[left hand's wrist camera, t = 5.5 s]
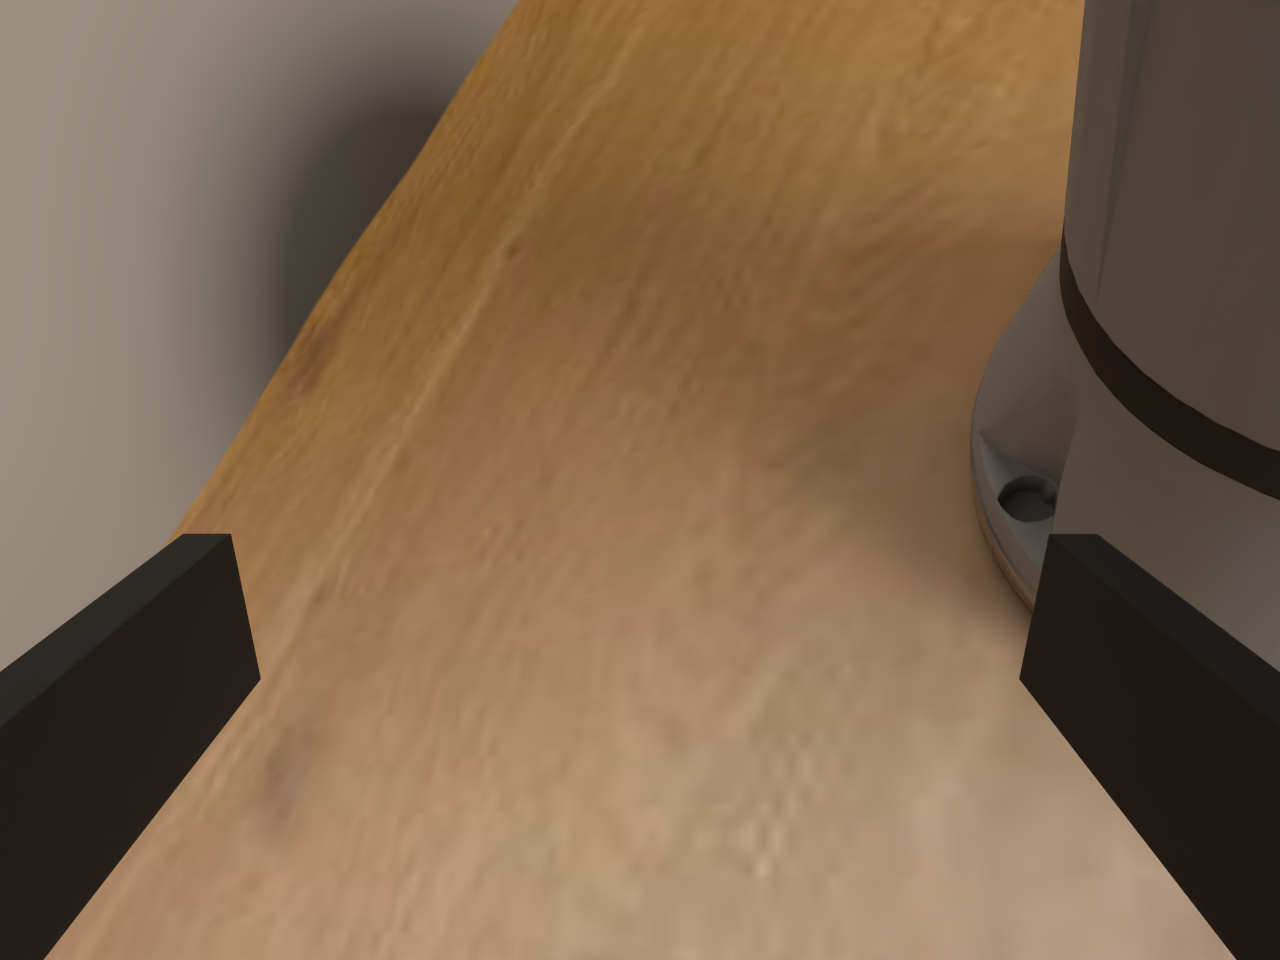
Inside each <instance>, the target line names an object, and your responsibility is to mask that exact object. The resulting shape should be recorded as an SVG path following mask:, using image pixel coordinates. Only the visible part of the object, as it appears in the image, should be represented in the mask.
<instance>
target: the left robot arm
mask: <svg viewBox="0 0 1280 960" xmlns="http://www.w3.org/2000/svg"><path fill="white" fill-rule="evenodd" d="M970 444H971V478H972V486H973V493H974V501H975V505H976V509H977V513H978V516H979V520H980V524H981V527H982V529H983V532H984V535H985V537H986V540H987V542H988V545H989V547H990V549H991V551H992V553H993V555H994V557H995V559H996V561H997V563H998V565H999V567H1000V569H1001V570H1002V572H1003V573H1004V575H1005V577H1006V578H1007V580H1008V581H1009V583H1010V584H1011V586H1012V588H1013V589H1014V591H1015V592H1016V593H1017V594H1018V596H1019V597H1020V598H1021V600H1022V601H1023V602H1024V603H1025V605H1026V606H1027V607H1028V608H1029V610H1030V611H1031V612H1032V613H1033V615H1032V619H1031V624H1030V629H1029V634H1028V639H1027V644H1026V648H1025V653H1024V658H1023V663H1022V668H1021V673H1020V678H1019V679H1020V681H1021V682H1022V683H1023V684H1024V686H1025V687H1026V688H1027V690H1028V691H1029V692H1030V693H1031V695H1032V696H1033V697H1034V699H1035V700H1036V701H1037V703H1038V704H1039V705H1040V706H1041V708H1042V709H1043V710H1044V712H1045V713H1046V714H1047V715H1048V717H1049V718H1050V719H1051V721H1052V722H1053V723H1054V724H1055V726H1056V727H1057V728H1058V730H1059V731H1060V732H1061V734H1062V735H1063V736H1064V737H1065V739H1066V740H1067V741H1068V743H1069V744H1070V745H1071V746H1072V748H1073V749H1074V750H1075V752H1076V753H1077V754H1078V756H1079V757H1080V758H1081V759H1082V761H1083V762H1084V763H1085V765H1086V766H1087V767H1088V768H1089V770H1090V771H1091V772H1092V774H1093V775H1094V776H1095V777H1096V779H1097V780H1098V781H1099V783H1100V784H1101V785H1102V787H1103V788H1104V789H1105V790H1106V792H1107V793H1108V794H1109V796H1110V797H1111V798H1112V799H1113V801H1114V802H1115V803H1116V805H1117V806H1118V807H1119V809H1120V810H1121V811H1122V812H1123V814H1124V815H1125V816H1126V818H1127V819H1128V820H1129V821H1130V823H1131V824H1132V825H1133V827H1134V828H1135V829H1136V830H1137V832H1138V833H1139V834H1140V836H1141V837H1142V838H1143V840H1144V841H1145V842H1146V843H1147V845H1148V846H1149V847H1150V849H1151V850H1152V851H1153V852H1154V854H1155V855H1156V856H1157V858H1158V859H1159V860H1160V861H1161V863H1162V864H1163V865H1164V867H1165V868H1166V869H1167V871H1168V872H1169V873H1170V874H1171V876H1172V877H1173V878H1174V880H1175V881H1176V882H1177V883H1178V885H1179V886H1180V887H1181V889H1182V890H1183V891H1184V893H1185V894H1186V895H1187V896H1188V898H1189V899H1190V900H1191V902H1192V903H1193V904H1194V905H1195V907H1196V908H1197V909H1198V911H1199V912H1200V913H1201V914H1202V916H1203V917H1204V918H1205V920H1206V921H1207V922H1208V924H1209V925H1210V926H1211V927H1212V929H1213V930H1214V931H1215V933H1216V934H1217V935H1218V936H1219V938H1220V939H1221V940H1222V942H1223V943H1224V944H1225V946H1226V947H1227V948H1228V949H1229V951H1230V952H1231V953H1232V955H1233V956H1234V957H1235V958H1236V960H1280V0H1085V7H1084V17H1083V27H1082V37H1081V47H1080V57H1079V67H1078V77H1077V88H1076V98H1075V108H1074V118H1073V128H1072V138H1071V148H1070V158H1069V168H1068V179H1067V189H1066V199H1065V216H1064V224H1063V233H1062V241H1061V245H1060V246H1059V248H1058V249H1057V251H1056V252H1055V254H1054V255H1053V257H1052V259H1051V260H1050V262H1049V263H1048V265H1047V266H1046V268H1045V269H1044V271H1043V272H1042V274H1041V275H1040V277H1039V278H1038V280H1037V281H1036V283H1035V285H1034V286H1033V288H1032V289H1031V291H1030V292H1029V294H1028V295H1027V297H1026V298H1025V300H1024V301H1023V303H1022V304H1021V306H1020V307H1019V309H1018V310H1017V312H1016V314H1015V315H1014V317H1013V318H1012V320H1011V321H1010V323H1009V324H1008V326H1007V327H1006V329H1005V331H1004V332H1003V334H1002V335H1001V337H1000V339H999V341H998V343H997V345H996V347H995V348H994V350H993V352H992V355H991V357H990V359H989V362H988V364H987V367H986V370H985V373H984V376H983V378H982V381H981V384H980V387H979V389H978V393H977V397H976V401H975V405H974V410H973V415H972V424H971V433H970ZM260 679H261V678H260V673H259V668H258V663H257V658H256V653H255V649H254V644H253V639H252V634H251V629H250V624H249V619H248V615H247V610H246V605H245V600H244V595H243V590H242V585H241V581H240V576H239V571H238V566H237V561H236V556H235V551H234V547H233V542H232V537H231V534H182V535H181V536H180V537H178V538H177V539H176V540H174V541H173V542H172V543H170V544H169V545H168V546H166V547H165V548H164V549H162V550H161V551H160V552H158V553H157V554H156V555H154V556H153V557H152V558H150V559H149V560H148V561H146V562H145V563H144V564H142V565H141V566H140V567H139V568H137V569H136V570H135V571H133V572H132V573H131V574H129V575H128V576H127V577H125V578H124V579H123V580H121V581H120V582H119V583H117V584H116V585H115V586H113V587H112V588H111V589H109V590H108V591H107V592H105V593H104V594H103V595H102V596H100V597H99V598H97V599H96V600H95V601H93V602H92V603H91V604H90V605H88V606H87V607H86V608H84V609H83V610H82V611H80V612H79V613H78V614H76V615H75V616H74V617H72V618H71V619H70V620H68V621H67V622H66V623H64V624H63V625H62V626H60V627H59V628H58V629H56V630H55V631H54V632H53V633H51V634H50V635H48V636H47V637H46V638H45V639H43V640H42V641H41V642H39V643H38V644H37V645H35V646H34V647H33V648H31V649H30V650H29V651H27V652H26V653H25V654H23V655H22V656H21V657H19V658H18V659H17V660H15V661H14V662H13V663H11V664H10V665H9V666H7V667H6V668H5V669H3V670H2V671H1V672H0V960H44V958H45V957H46V956H47V955H48V953H49V952H50V951H51V949H52V948H53V947H54V946H55V944H56V943H57V942H58V940H59V939H60V938H61V936H62V935H63V934H64V933H65V931H66V930H67V929H68V927H69V926H70V925H71V924H72V922H73V921H74V920H75V918H76V917H77V916H78V914H79V913H80V912H81V911H82V909H83V908H84V907H85V905H86V904H87V903H88V902H89V900H90V899H91V898H92V896H93V895H94V894H95V893H96V891H97V890H98V889H99V887H100V886H101V885H102V883H103V882H104V881H105V880H106V878H107V877H108V876H109V874H110V873H111V872H112V871H113V869H114V868H115V867H116V865H117V864H118V863H119V861H120V860H121V859H122V858H123V856H124V855H125V854H126V852H127V851H128V850H129V849H130V847H131V846H132V845H133V843H134V842H135V841H136V840H137V838H138V837H139V836H140V834H141V833H142V832H143V830H144V829H145V828H146V827H147V825H148V824H149V823H150V821H151V820H152V819H153V818H154V816H155V815H156V814H157V812H158V811H159V810H160V809H161V807H162V806H163V805H164V803H165V802H166V801H167V799H168V798H169V797H170V796H171V794H172V793H173V792H174V790H175V789H176V788H177V787H178V785H179V784H180V783H181V781H182V780H183V779H184V777H185V776H186V775H187V774H188V772H189V771H190V770H191V768H192V767H193V766H194V765H195V763H196V762H197V761H198V759H199V758H200V757H201V756H202V754H203V753H204V752H205V750H206V749H207V748H208V746H209V745H210V744H211V743H212V741H213V740H214V739H215V737H216V736H217V735H218V734H219V732H220V731H221V730H222V728H223V727H224V726H225V724H226V723H227V722H228V721H229V719H230V718H231V717H232V715H233V714H234V713H235V712H236V710H237V709H238V708H239V706H240V705H241V704H242V703H243V701H244V700H245V699H246V697H247V696H248V695H249V693H250V692H251V691H252V690H253V688H254V687H255V686H256V684H257V683H258V682H259V681H260Z"/></svg>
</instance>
